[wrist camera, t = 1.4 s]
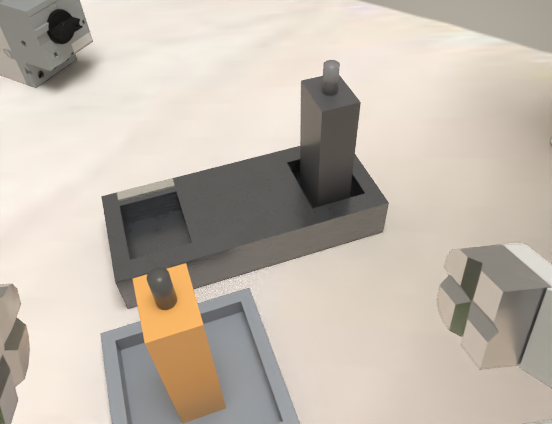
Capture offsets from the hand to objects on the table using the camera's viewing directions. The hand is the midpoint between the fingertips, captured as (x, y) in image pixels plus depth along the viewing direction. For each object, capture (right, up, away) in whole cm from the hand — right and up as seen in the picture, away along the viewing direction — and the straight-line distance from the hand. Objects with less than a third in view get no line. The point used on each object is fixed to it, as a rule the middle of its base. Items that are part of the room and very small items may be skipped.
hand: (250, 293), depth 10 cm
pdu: (-2, 0, +39) cm, 39 cm away
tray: (-5, -12, +28) cm, 31 cm away
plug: (-5, -12, +28) cm, 30 cm away
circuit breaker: (-30, +20, +58) cm, 68 cm away
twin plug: (+5, +3, +39) cm, 40 cm away
